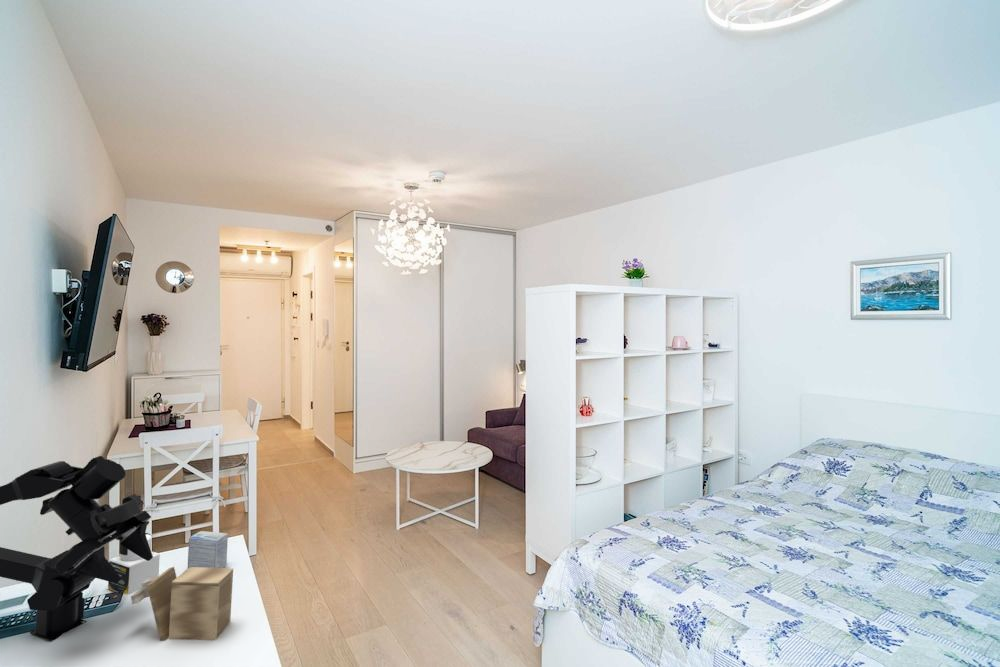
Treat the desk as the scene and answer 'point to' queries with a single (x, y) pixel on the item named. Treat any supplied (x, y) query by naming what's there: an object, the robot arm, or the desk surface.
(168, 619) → the flap
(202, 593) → the carton
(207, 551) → the medicine box
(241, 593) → the desk surface
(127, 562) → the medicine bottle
